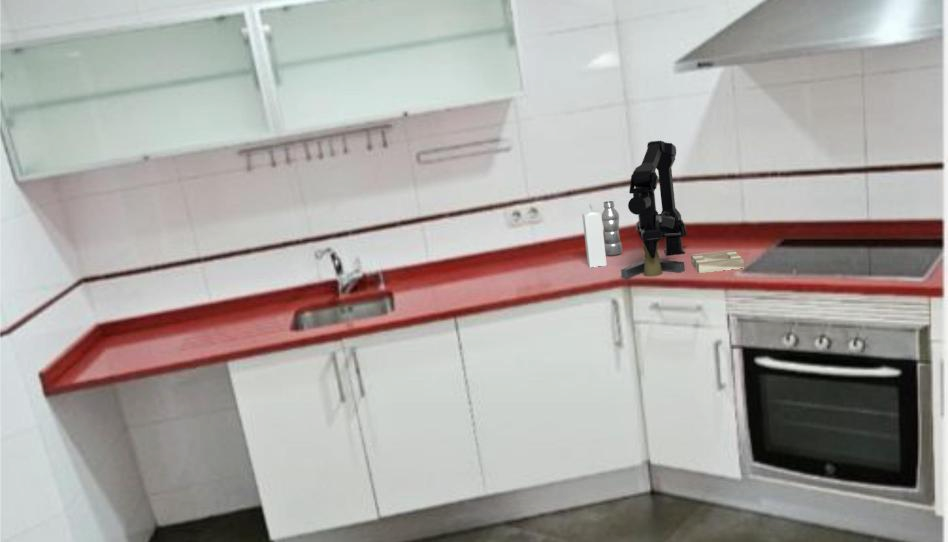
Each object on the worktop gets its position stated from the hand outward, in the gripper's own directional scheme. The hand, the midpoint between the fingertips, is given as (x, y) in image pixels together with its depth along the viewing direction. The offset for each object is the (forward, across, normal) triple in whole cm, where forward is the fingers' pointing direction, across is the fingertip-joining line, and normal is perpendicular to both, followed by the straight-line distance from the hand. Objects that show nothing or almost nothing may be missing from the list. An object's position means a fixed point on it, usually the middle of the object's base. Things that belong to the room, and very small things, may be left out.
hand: (651, 254), depth 266 cm
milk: (+7, +21, +17) cm, 28 cm away
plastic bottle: (+7, +34, +10) cm, 36 cm away
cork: (+7, 0, 0) cm, 7 cm away
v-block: (+7, +3, 0) cm, 7 cm away
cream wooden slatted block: (+6, +1, -21) cm, 22 cm away
